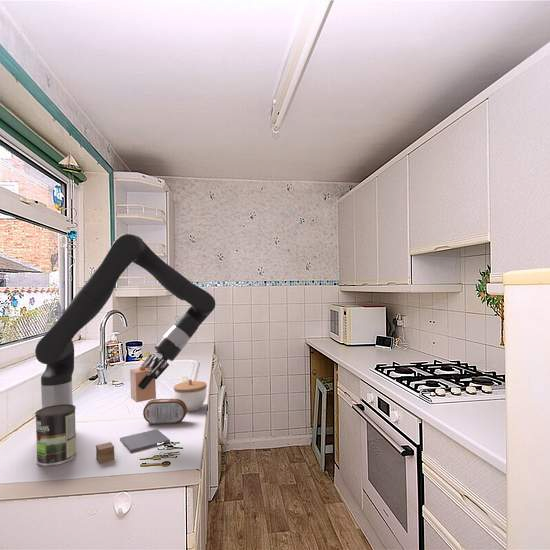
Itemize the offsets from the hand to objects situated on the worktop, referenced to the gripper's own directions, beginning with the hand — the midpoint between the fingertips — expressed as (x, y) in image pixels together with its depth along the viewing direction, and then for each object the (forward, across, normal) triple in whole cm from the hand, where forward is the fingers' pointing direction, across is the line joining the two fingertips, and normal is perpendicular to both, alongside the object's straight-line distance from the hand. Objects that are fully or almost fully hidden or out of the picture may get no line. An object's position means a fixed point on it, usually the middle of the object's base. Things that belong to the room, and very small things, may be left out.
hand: (137, 385), depth 129 cm
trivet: (+11, 0, +14) cm, 18 cm away
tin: (+4, -12, +22) cm, 25 cm away
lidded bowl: (-6, -22, +32) cm, 39 cm away
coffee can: (+28, -4, -3) cm, 29 cm away
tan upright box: (+2, 0, +4) cm, 5 cm away
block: (+21, +6, +5) cm, 22 cm away
